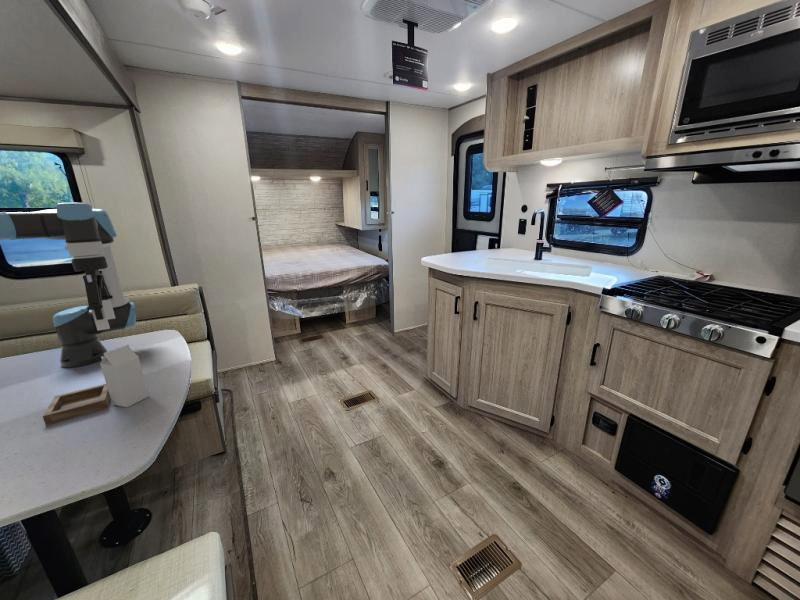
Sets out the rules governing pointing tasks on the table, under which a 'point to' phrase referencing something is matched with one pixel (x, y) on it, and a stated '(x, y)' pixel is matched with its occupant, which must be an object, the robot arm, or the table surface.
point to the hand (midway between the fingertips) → (107, 324)
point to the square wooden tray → (77, 404)
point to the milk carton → (124, 376)
